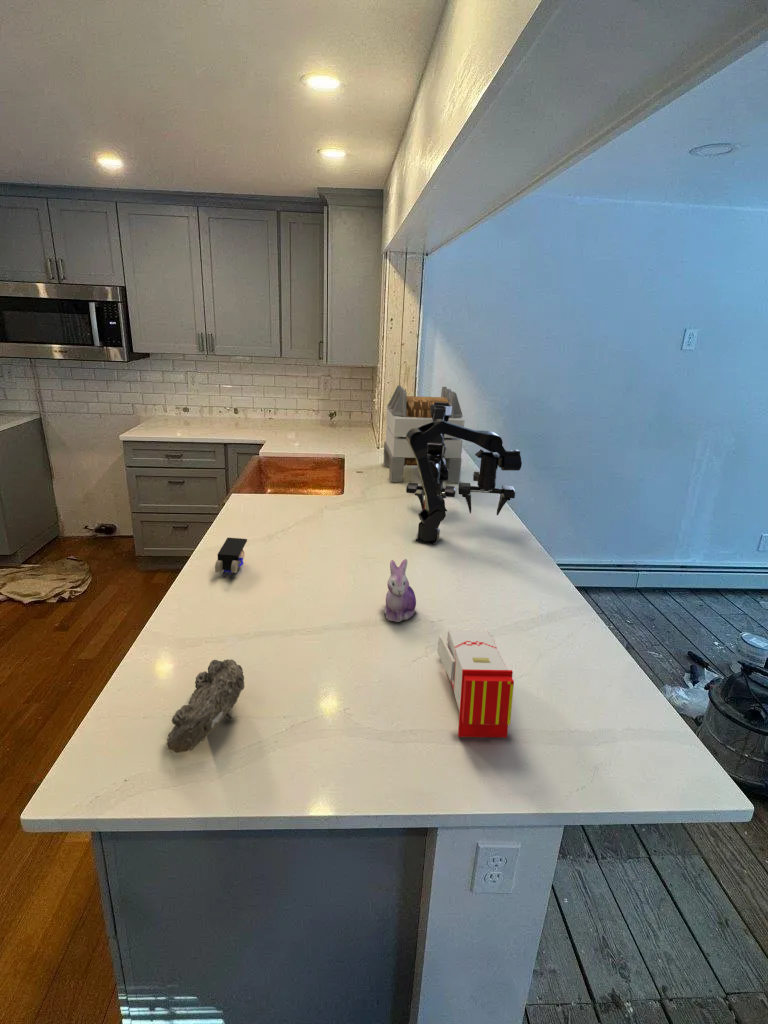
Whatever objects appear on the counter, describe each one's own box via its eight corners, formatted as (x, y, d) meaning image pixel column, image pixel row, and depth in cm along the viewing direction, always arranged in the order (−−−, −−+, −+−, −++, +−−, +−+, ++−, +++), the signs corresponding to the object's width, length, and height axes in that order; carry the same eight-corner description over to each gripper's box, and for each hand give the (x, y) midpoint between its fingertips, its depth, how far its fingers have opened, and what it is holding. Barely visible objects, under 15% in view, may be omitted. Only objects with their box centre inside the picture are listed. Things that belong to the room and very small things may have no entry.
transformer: (382, 463, 289) (386, 382, 275) (445, 464, 293) (451, 384, 279) (390, 482, 257) (394, 392, 243) (460, 483, 261) (468, 394, 247)
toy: (488, 613, 130) (523, 677, 101) (484, 667, 133) (517, 744, 104) (435, 612, 130) (455, 676, 101) (432, 666, 133) (451, 743, 103)
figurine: (392, 627, 141) (395, 572, 136) (374, 608, 149) (376, 556, 144) (425, 619, 145) (429, 566, 140) (405, 601, 154) (408, 550, 149)
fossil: (192, 660, 117) (244, 628, 112) (224, 691, 120) (276, 661, 115) (142, 746, 98) (202, 712, 93) (182, 779, 101) (242, 748, 96)
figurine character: (238, 584, 162) (249, 557, 175) (236, 562, 158) (247, 536, 172) (215, 584, 161) (227, 556, 175) (212, 561, 158) (225, 535, 171)
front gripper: (513, 465, 196) (508, 508, 202) (459, 462, 198) (456, 504, 203) (517, 474, 186) (512, 519, 191) (460, 470, 187) (456, 515, 193)
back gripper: (405, 475, 210) (403, 515, 215) (455, 480, 207) (452, 519, 213) (409, 467, 221) (407, 505, 226) (457, 472, 218) (453, 510, 223)
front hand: (483, 513), depth 195 cm, fingers open, 9 cm apart
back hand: (429, 510), depth 222 cm, fingers closed on canister, 5 cm apart
